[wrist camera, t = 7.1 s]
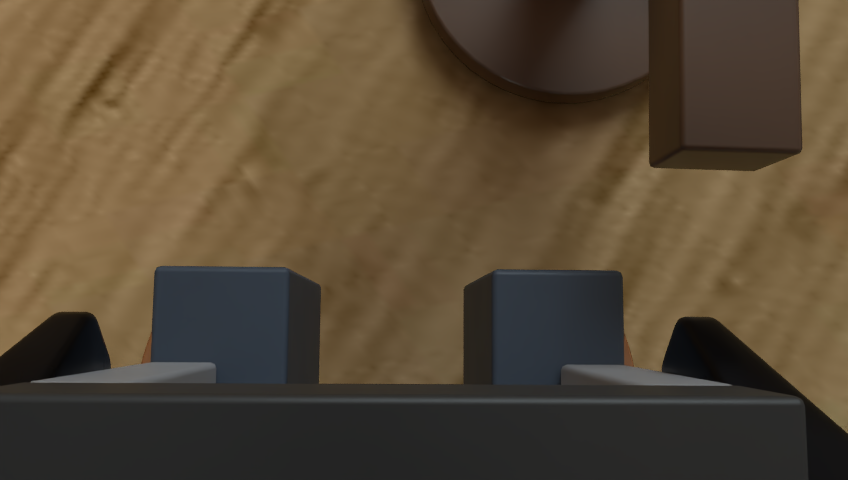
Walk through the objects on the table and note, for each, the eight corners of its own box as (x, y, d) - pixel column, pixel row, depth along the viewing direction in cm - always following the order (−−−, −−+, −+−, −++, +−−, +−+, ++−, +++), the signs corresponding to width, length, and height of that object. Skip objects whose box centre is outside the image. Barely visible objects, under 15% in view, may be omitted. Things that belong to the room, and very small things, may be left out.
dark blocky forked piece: (579, 518, 16) (880, 841, 6) (197, 519, 15) (-145, 857, 6) (575, 285, 16) (847, 229, 6) (206, 282, 16) (-91, 217, 6)
